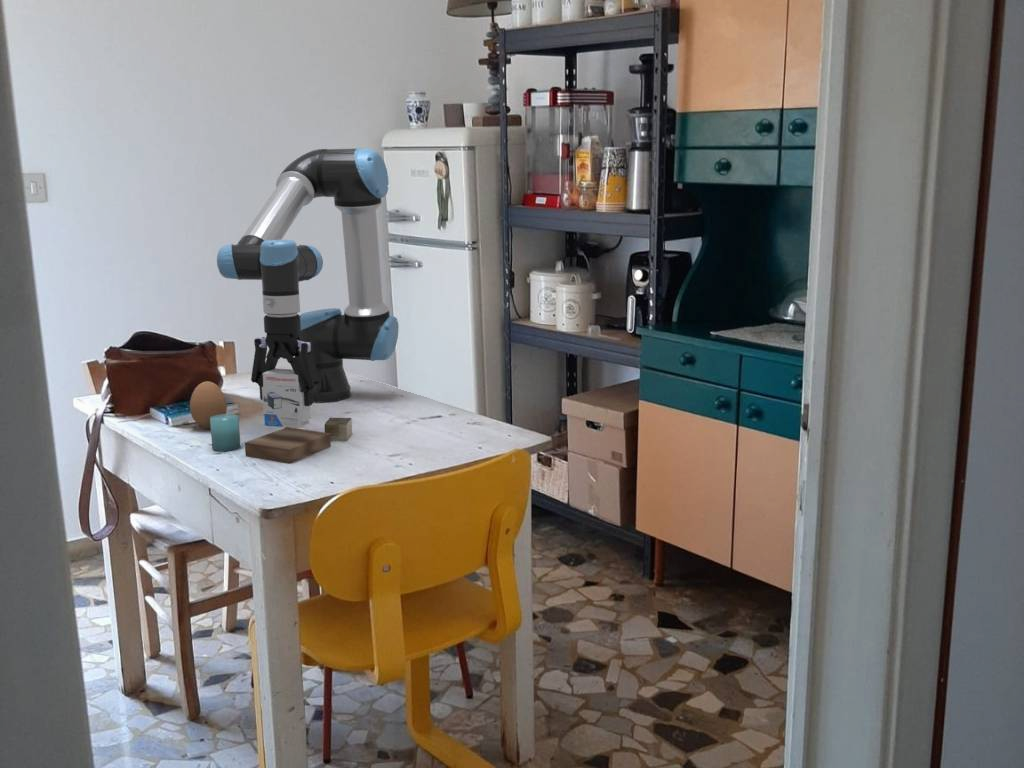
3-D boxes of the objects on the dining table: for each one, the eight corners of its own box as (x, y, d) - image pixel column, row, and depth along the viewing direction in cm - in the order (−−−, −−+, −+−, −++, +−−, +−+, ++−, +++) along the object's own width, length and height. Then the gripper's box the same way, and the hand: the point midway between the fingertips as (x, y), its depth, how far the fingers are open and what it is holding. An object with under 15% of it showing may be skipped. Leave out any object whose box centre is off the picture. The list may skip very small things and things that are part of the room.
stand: (287, 439, 222) (287, 427, 221) (331, 446, 217) (330, 433, 216) (245, 456, 210) (244, 442, 209) (290, 463, 205) (289, 449, 204)
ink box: (263, 426, 210) (260, 372, 208) (273, 420, 215) (271, 368, 213) (301, 428, 209) (298, 374, 206) (310, 422, 213) (308, 369, 211)
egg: (202, 422, 237) (199, 377, 234) (234, 424, 235) (231, 378, 233) (184, 431, 229) (181, 384, 226) (217, 433, 227) (214, 386, 225)
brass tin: (330, 434, 227) (330, 417, 226) (352, 434, 227) (351, 417, 226) (325, 441, 221) (324, 424, 221) (347, 441, 221) (346, 424, 220)
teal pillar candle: (225, 443, 220) (223, 412, 218) (246, 446, 217) (244, 415, 216) (206, 449, 215) (204, 418, 213) (227, 453, 212) (225, 421, 210)
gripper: (229, 313, 208) (235, 415, 213) (313, 320, 199) (317, 427, 204) (253, 308, 215) (258, 408, 220) (335, 315, 205) (339, 419, 210)
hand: (287, 417), depth 212 cm, fingers closed on ink box, 9 cm apart
